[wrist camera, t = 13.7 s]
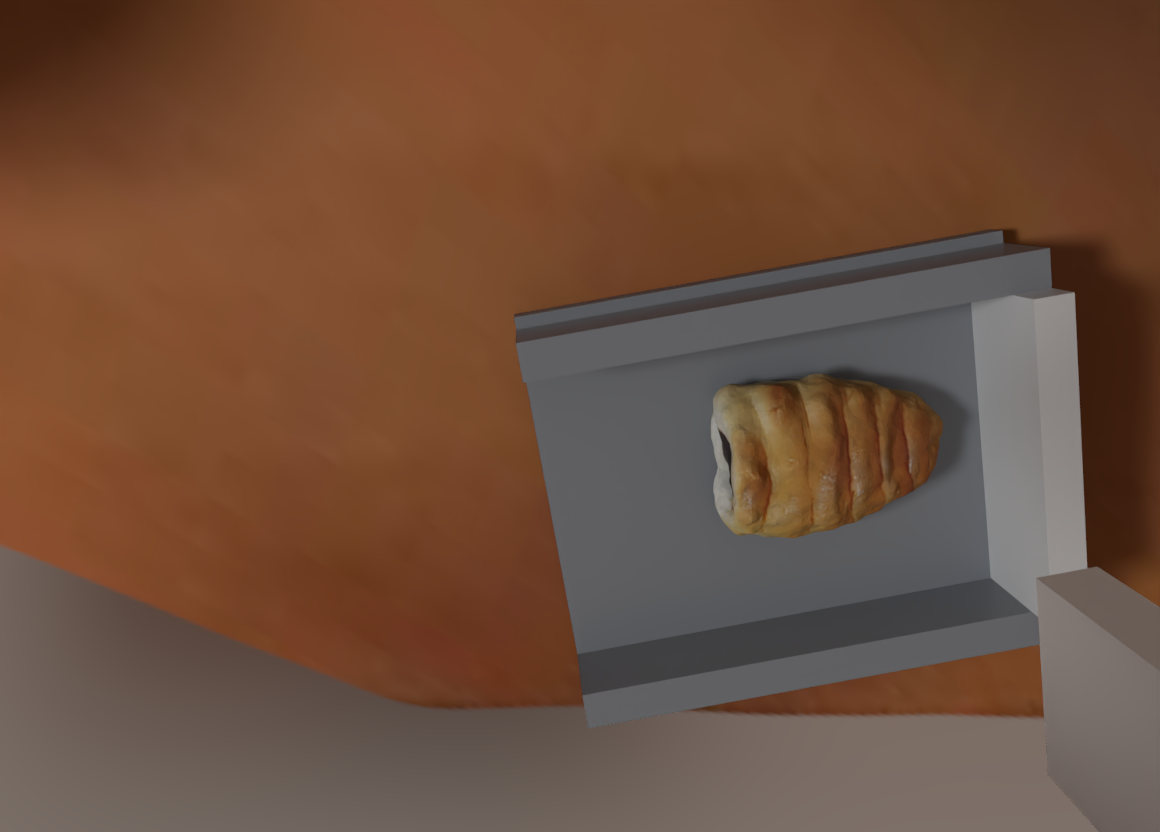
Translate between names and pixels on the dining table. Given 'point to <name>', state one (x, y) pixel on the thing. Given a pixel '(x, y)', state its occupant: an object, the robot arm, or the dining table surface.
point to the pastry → (817, 452)
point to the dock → (822, 559)
